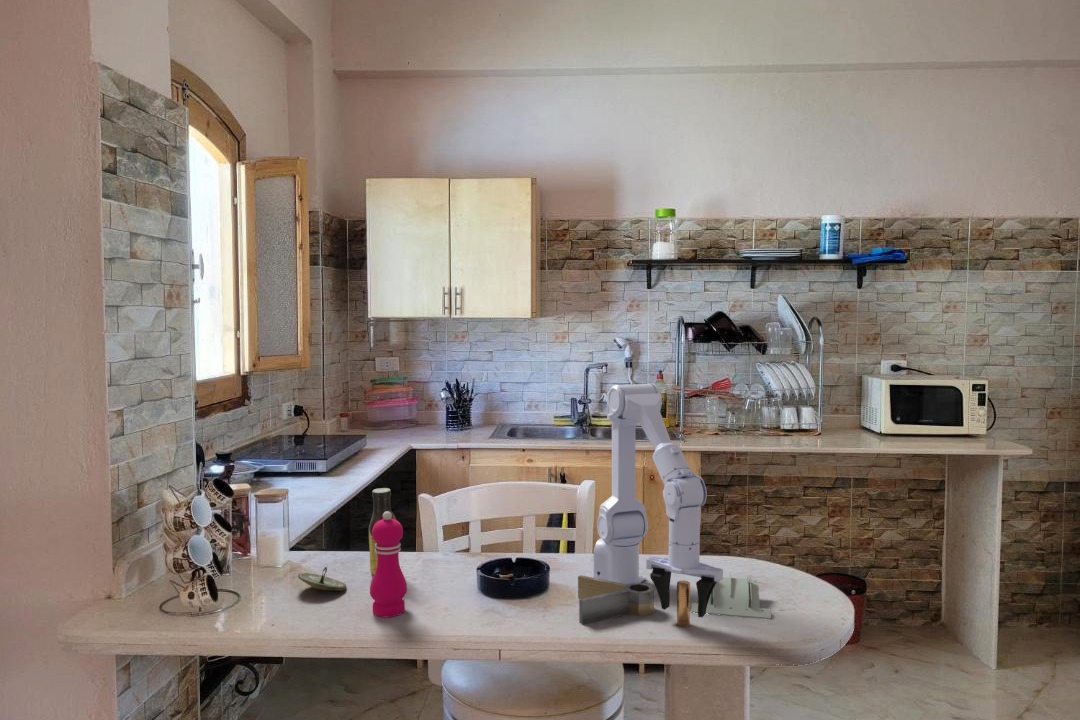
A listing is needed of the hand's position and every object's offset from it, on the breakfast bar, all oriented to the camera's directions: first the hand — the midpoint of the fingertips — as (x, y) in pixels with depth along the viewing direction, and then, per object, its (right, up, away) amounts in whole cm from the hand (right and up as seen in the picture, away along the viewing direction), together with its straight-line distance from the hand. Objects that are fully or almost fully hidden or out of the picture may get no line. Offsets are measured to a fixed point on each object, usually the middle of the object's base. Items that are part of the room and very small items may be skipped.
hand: (683, 611), depth 151 cm
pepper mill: (-57, -2, +7) cm, 57 cm away
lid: (-73, -2, +18) cm, 75 cm away
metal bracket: (+11, -2, +10) cm, 15 cm away
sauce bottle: (-61, -1, +26) cm, 67 cm away
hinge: (-15, -2, +6) cm, 16 cm away
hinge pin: (0, -2, 0) cm, 2 cm away
